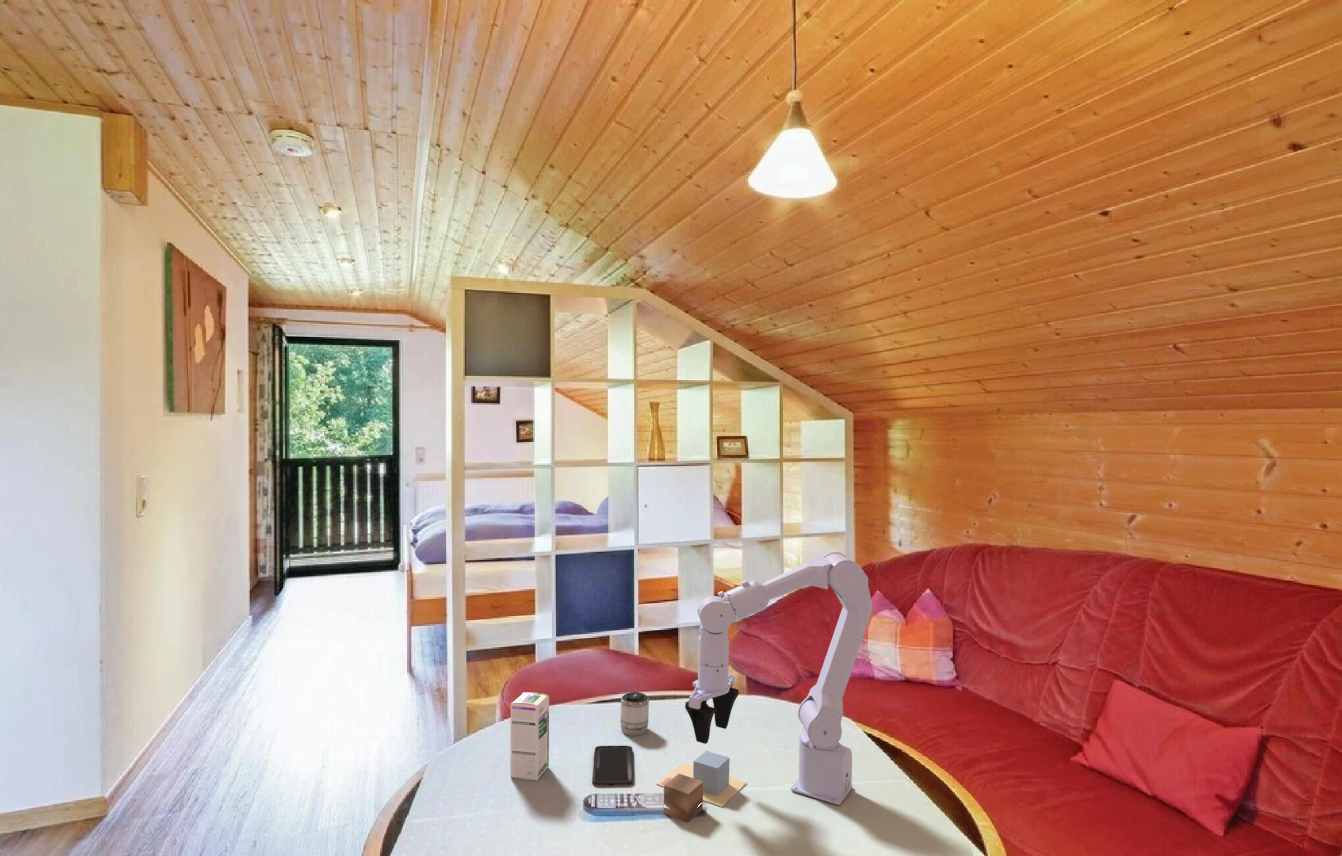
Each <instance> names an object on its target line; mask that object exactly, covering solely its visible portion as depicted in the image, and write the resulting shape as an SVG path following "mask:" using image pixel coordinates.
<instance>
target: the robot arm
mask: <svg viewBox="0 0 1342 856" xmlns="http://www.w3.org/2000/svg"><path fill="white" fill-rule="evenodd" d="M740 584H741V585H739V586H737V587H734V588H731V589H730V590H727V591H725V592H724V591H723V590H721V591H719V592H718V593H717V595H718V596H715V595H709V596H707V597H705V598H703V599H702V601H701V602H700V604H699V606H698V609H697V615H698V617H699V620H700V624H699V631H698V632H699V636H698V657H697V658H698V659H697V660H698V665H697V667H698V668H697V679H696V680H694V681H693V682H692V686H693V687H694V690H693V692H692V694H690V695H689V696H688V701H686V702H684V703H685V704H684V708H685V711H686V712H687V714H688V715H689V717H690V720H691V722H692V723H691V724H692V726H693V731H694V736H695V740H696V742H698V743H701V744H705V745H707V744H708V743H709V739H710V733H711V725H712V720H713V718H714V722H715V723H714V724H715V727H716V728H720V729H724V730H726V729H727V728H728V725H729V721H730V717H731V713H732V710H733V707H734V704H735V701H736V699H738V696H739V695H740V691H739V689H738V688H735V687H734V686H735V683H736V681H735V679H736V676H735V675H734V674H730V673H729V666H730V665H729V661H730V660H729V657H730V656H729V654H730V653H729V652H730V650H729V649H730V638H729V629H730V627H731V624H732V623H737V622H738V621H740V620H743V619H745V618H748V617H751V616H752V615H754V614H757V613H759V612H762V611H764V610H767V607H768V605H769V603H770V602H771V600H773V599H776V598H778V597H781V596H784V595H787V594H789V593H792V592H794V591H798V590H800V589H803V588H805V587H807V586H808V587H809V586H811V587H816V588H820V589H824V590H829V589H828V588H829V587H831V588H832V590H834V591H833V592H834V593H835V595H836V596H837V598H838V600H839V602H840V604H841V605H842V609H841V611H840V614H839V618H838V620H837V623H836V626H835V629H834V632H833V635H832V638H831V640H830V643H829V647H828V649H827V652H826V655H825V657H824V661H823V664H822V667H821V670H820V672H819V676H818V679H817V682H816V683H815V684H814V685H813V686H811V688H810V689H809V691H808V695H807V696H806V697H805V699H803V701H801V703H800V704H799V706H798V711H797V714H798V720H799V721H800V723H801V724H802V726H803V728H802V730H801V733H800V734H799V740H798V741H799V746H798V747H799V748H798V750H799V754H798V756H799V757H798V760H799V761H798V779H797V780H796V781H795V782H794V783H793V784H792V786H791V787H790V790H791V791H792V792H794V793H799V794H802V795H805V796H808V797H810V798H811V797H812V798H815V799H818V800H820V801H824V802H828V803H831V804H834V805H836V806H840V805H841V804H842V803H843V802H844V800H845V799H846V797H847V796H848V795H849V793H850V792H851V790H852V789H853V786H854V785H853V784H852V782H853V781H852V780H853V779H852V777H853V774H852V773H853V753H852V749H851V748H849V747H847V746H845V745H843V744H841V742H840V740H841V739H842V738H841V737H842V734H843V733H842V732H843V731H842V730H843V729H842V719H843V716H844V703H843V701H844V699H843V697H844V695H845V691H846V688H847V687H848V686H847V685H848V684H849V680H850V677H851V674H852V670H853V668H854V666H855V662H856V660H857V656H858V653H859V650H860V648H861V645H862V641H863V638H864V635H865V633H866V631H867V627H868V624H869V621H870V619H871V616H872V613H873V602H872V597H871V592H870V588H869V577H868V575H867V574H866V573H865V571H864V570H863V569H862V567H861V565H860V564H858V563H857V562H856V561H854V560H852V559H850V558H848V557H847V555H845V554H844V553H841V552H838V551H832V552H829V553H826V554H824V556H823V555H819V556H816V557H814V558H812V559H810V560H808V561H805V562H804V563H802V564H800V565H797V566H796V567H794V568H792V569H790V570H788V571H786V572H783V573H781V574H779V575H778V576H775V577H773V578H771V579H769V580H767V581H765V582H763V583H762V582H759V581H758V580H757V581H756V580H754V579H753V580H751V581H749V580H748V579H745V580H742V581H740ZM828 586H829V587H828ZM710 699H712V703H713V707H712V706H709V704H708V703H707V702H708V701H709V700H710Z"/></svg>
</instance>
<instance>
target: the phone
mask: <svg viewBox="0 0 1342 856" xmlns="http://www.w3.org/2000/svg"><path fill="white" fill-rule="evenodd" d="M593 752H594V753H593V766H592V777H591V784H592V786H594V787H629V786H632V785H634V761H633V756H634V755H633V754H634V753H633V747H632V746H631V745H598V746H595V747H594V751H593Z"/></svg>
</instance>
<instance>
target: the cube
mask: <svg viewBox="0 0 1342 856" xmlns="http://www.w3.org/2000/svg"><path fill="white" fill-rule="evenodd" d="M730 762H731V761H730V757H729V756H726V755H723V754H718V753H716V752H712V751H708V750H705V751H704V752H703V753H702V754H700V755H699V756H698V757H696V759H694V760H693V766H694V767H693V778H694V779H697V780H700V781H703V791H704V792H707V793H710V794H713V795H716V796H717V795H718V794H719V793H720V792H721V791H722V790H723V789H724V788H725V787H726V786H728V785H729V777H730Z"/></svg>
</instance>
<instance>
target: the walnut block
mask: <svg viewBox="0 0 1342 856" xmlns="http://www.w3.org/2000/svg"><path fill="white" fill-rule="evenodd" d="M702 802H703V803H704V801H703V781H700V780H697V779H694V778H691V777H688V776H685V775H682V774H678V775H677V776H675V777H674V778H673V779H671V780H670V781H669V782H668V783H666V784H665V785H664V787H663V805H664V804H665V805H666V806H667V807H669V809H670V810H669V809H667V808H664V807H663V814H664V815H666V816H669V817H672V818H675V819H677V820H681V821H683V822H685V823H689V822H690V821H691V820H692V819H694V818H695V817H696V816H697V815H699V813H700V812H701V811H703V804H701V805H700V806H699V807H698V805H699V804H700V803H702ZM697 807H698V808H697Z"/></svg>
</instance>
